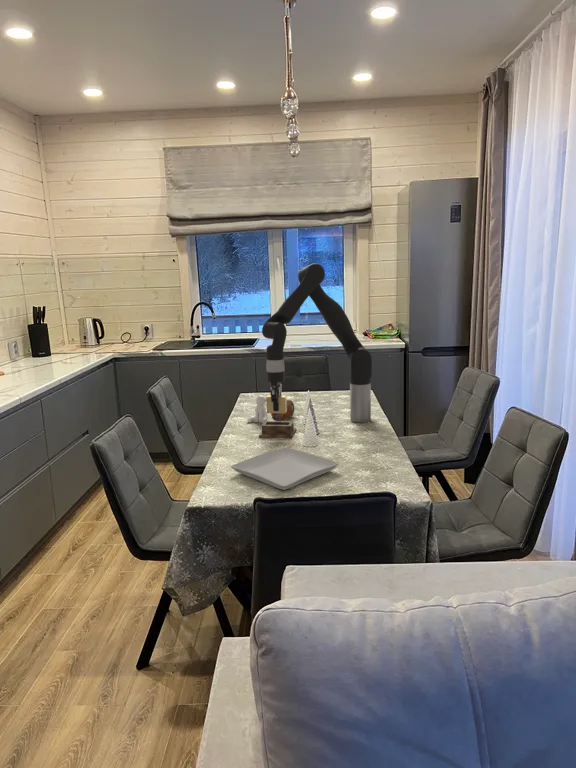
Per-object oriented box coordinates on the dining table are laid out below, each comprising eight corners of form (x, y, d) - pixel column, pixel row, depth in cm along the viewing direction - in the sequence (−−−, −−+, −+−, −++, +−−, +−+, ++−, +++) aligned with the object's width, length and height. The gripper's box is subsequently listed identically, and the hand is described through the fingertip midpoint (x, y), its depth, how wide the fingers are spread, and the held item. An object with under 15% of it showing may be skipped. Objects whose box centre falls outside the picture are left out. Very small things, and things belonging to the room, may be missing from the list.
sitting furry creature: (246, 422, 258) (245, 397, 255) (255, 417, 265) (254, 393, 263) (265, 424, 254) (263, 398, 251) (273, 419, 262) (272, 394, 259)
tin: (275, 423, 255) (274, 405, 253) (270, 422, 257) (269, 404, 255) (295, 415, 267) (294, 398, 265) (289, 414, 269) (289, 397, 267)
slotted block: (296, 429, 244) (296, 419, 243) (291, 438, 232) (291, 427, 231) (264, 429, 246) (264, 419, 245) (259, 437, 235) (258, 427, 234)
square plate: (229, 475, 194) (229, 464, 194) (286, 455, 213) (285, 445, 212) (284, 496, 175) (283, 484, 175) (340, 472, 194) (340, 461, 193)
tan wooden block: (286, 411, 238) (286, 395, 237) (285, 413, 235) (285, 397, 234) (268, 411, 240) (267, 395, 238) (266, 413, 237) (266, 397, 235)
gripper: (281, 373, 226) (282, 414, 230) (287, 366, 240) (288, 406, 243) (263, 373, 228) (264, 414, 231) (270, 366, 241) (271, 405, 245)
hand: (276, 409), depth 237 cm, fingers closed on tan wooden block, 3 cm apart
